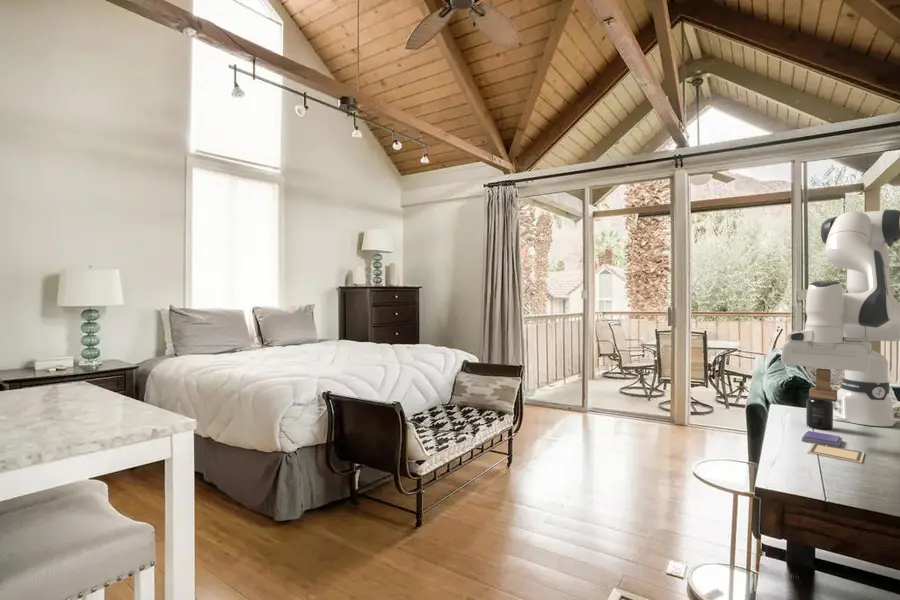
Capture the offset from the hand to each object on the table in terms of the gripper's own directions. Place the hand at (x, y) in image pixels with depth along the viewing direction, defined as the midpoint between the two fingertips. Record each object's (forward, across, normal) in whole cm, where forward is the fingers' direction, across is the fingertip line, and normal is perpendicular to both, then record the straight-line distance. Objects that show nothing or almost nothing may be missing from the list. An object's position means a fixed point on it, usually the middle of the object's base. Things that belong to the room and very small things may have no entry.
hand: (823, 383), depth 135 cm
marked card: (+17, -4, +10) cm, 20 cm away
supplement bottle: (+17, +3, -19) cm, 26 cm away
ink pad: (+17, 0, -1) cm, 17 cm away
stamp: (+4, 0, 0) cm, 4 cm away
